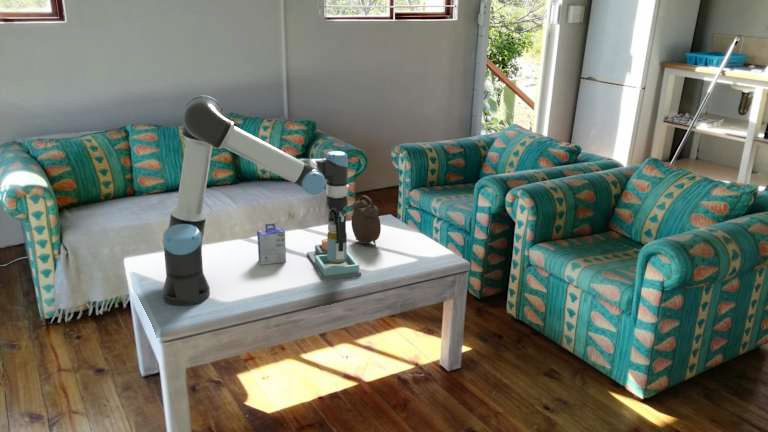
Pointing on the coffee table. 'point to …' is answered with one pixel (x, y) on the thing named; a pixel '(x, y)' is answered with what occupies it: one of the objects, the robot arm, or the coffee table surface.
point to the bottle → (334, 245)
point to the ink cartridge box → (271, 245)
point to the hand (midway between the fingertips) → (336, 254)
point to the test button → (324, 245)
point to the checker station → (333, 265)
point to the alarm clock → (365, 221)
